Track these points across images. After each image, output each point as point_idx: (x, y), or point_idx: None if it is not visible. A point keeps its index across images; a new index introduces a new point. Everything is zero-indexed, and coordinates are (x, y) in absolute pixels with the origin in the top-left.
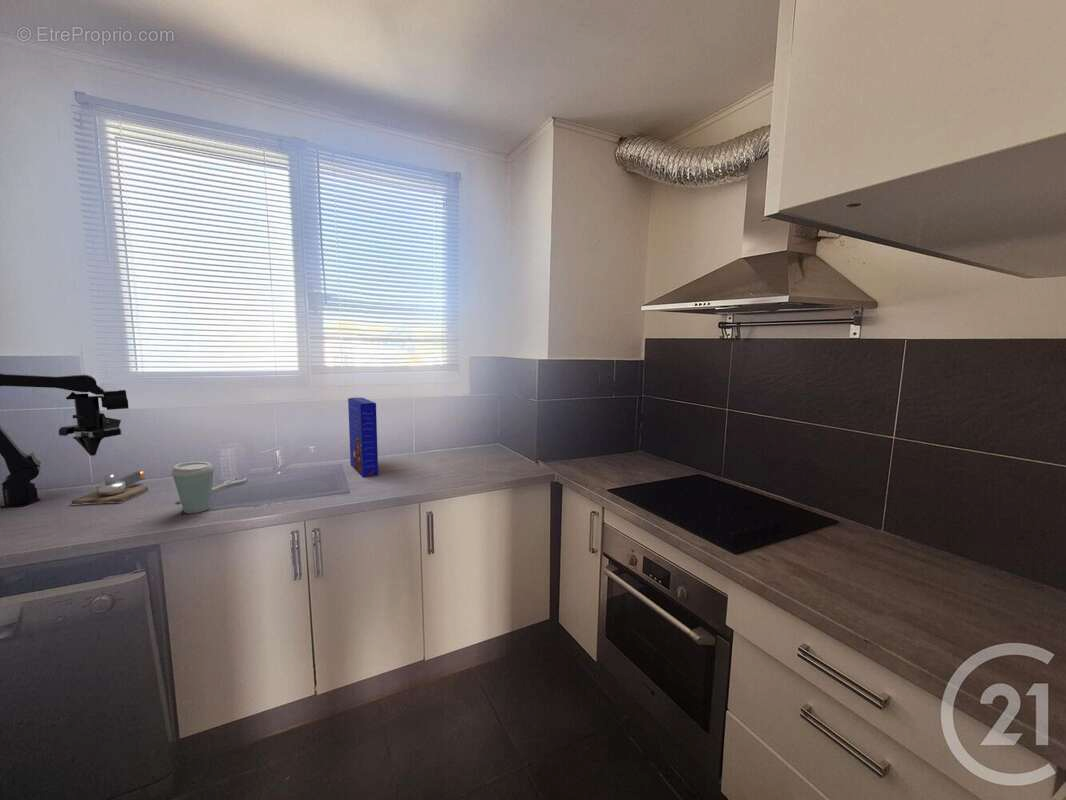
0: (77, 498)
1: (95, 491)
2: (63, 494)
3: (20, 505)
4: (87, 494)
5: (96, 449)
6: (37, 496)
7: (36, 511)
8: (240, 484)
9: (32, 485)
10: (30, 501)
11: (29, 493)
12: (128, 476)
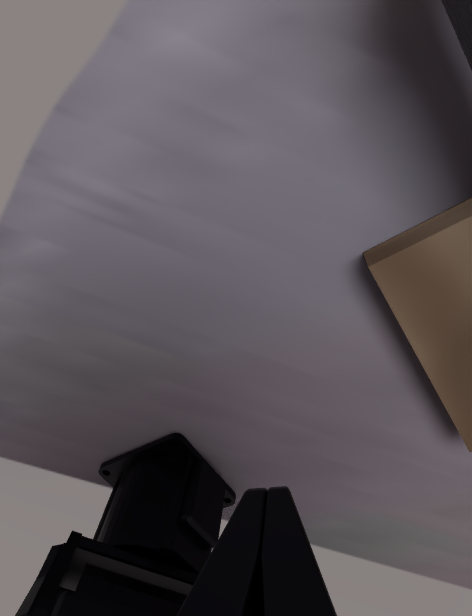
0: (454, 423)
1: (402, 318)
2: (157, 353)
3: (229, 504)
4: (423, 367)
5: (328, 595)
6: (201, 473)
7: (382, 507)
8: None
9: (183, 546)
10: (225, 486)
11: (218, 527)
12: None
